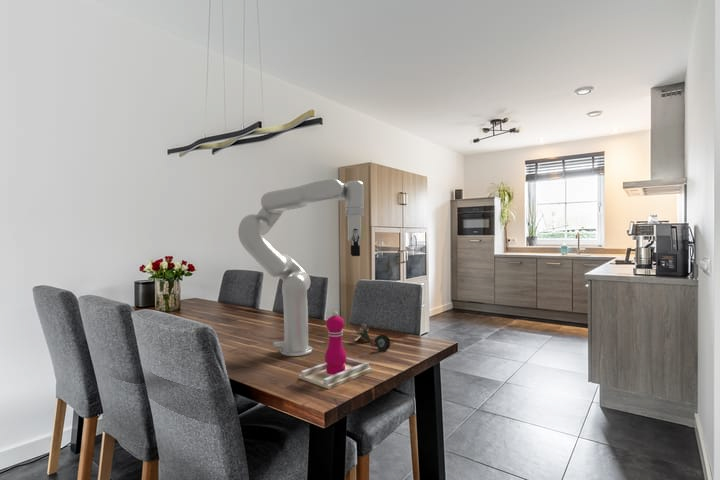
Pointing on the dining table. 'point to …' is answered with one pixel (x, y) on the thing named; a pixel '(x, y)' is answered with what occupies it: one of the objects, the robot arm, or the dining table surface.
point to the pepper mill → (335, 345)
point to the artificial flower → (380, 340)
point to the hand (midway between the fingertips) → (355, 255)
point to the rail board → (329, 381)
